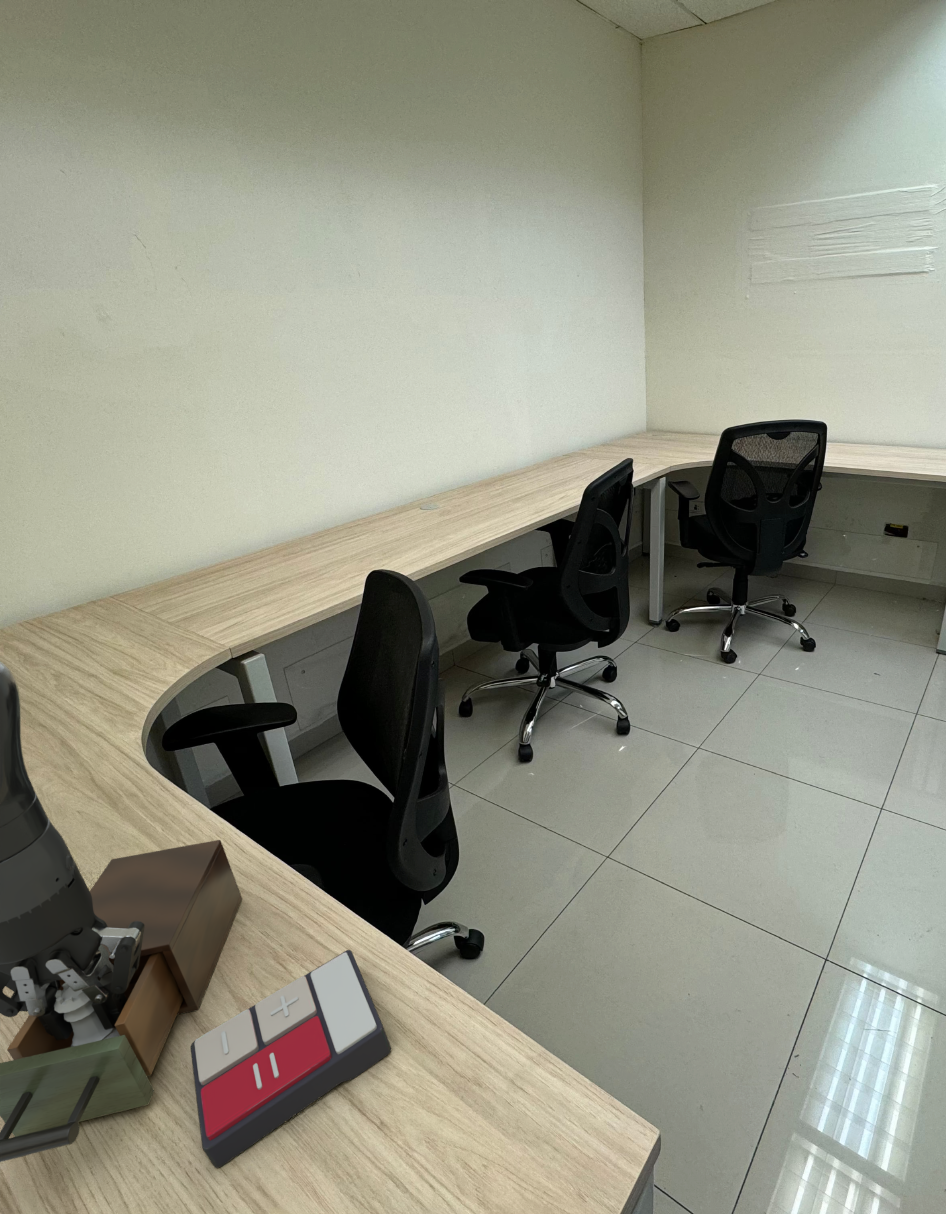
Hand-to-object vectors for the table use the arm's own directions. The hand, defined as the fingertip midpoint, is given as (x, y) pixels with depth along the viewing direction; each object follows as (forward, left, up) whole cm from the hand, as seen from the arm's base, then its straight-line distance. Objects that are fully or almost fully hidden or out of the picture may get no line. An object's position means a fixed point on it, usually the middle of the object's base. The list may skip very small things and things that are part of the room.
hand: (93, 1024), depth 57 cm
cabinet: (0, +11, -6) cm, 13 cm away
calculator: (+17, -4, -6) cm, 18 cm away
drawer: (0, -1, -5) cm, 5 cm away
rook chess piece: (0, 0, -3) cm, 3 cm away
